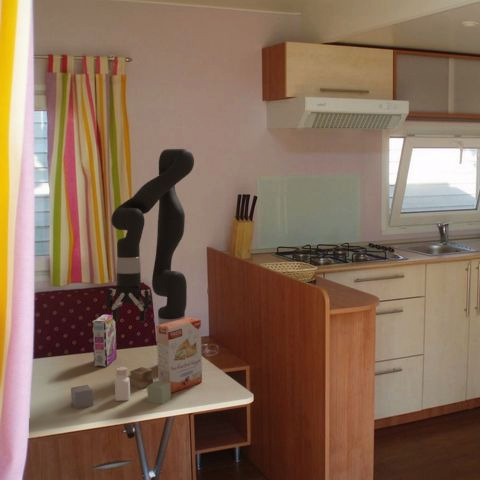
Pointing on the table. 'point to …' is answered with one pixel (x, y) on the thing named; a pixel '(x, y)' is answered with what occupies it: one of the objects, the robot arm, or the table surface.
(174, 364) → the cracker box
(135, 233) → the robot arm
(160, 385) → the sage green block
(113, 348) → the candy bar box
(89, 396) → the slate grey block
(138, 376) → the walnut block
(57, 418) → the table surface
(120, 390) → the salt shaker
